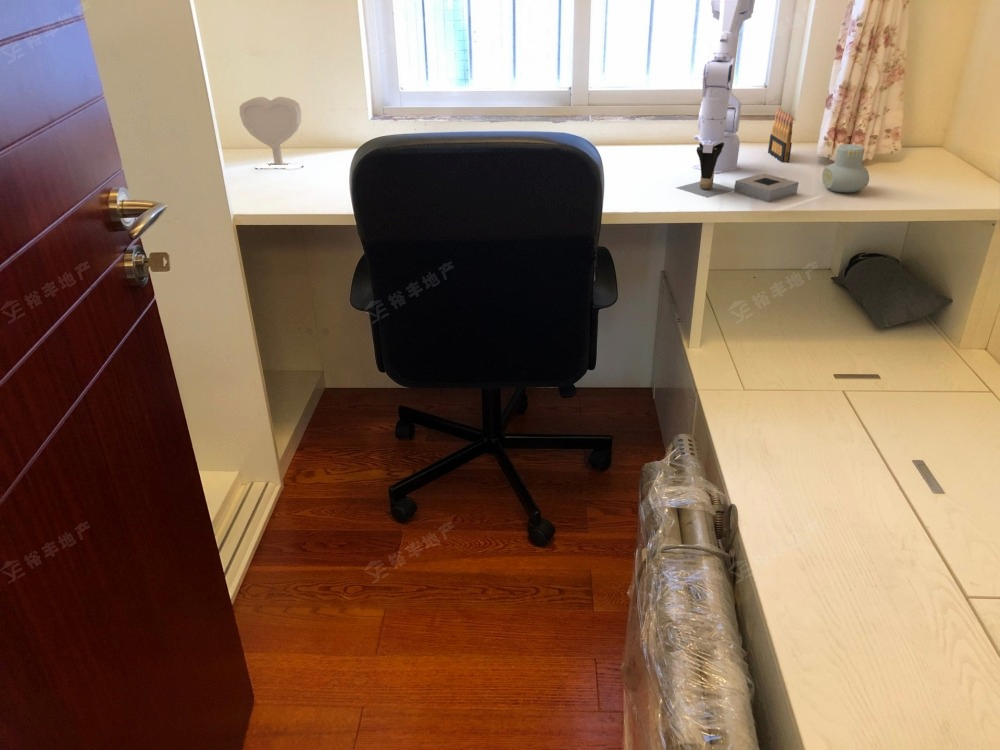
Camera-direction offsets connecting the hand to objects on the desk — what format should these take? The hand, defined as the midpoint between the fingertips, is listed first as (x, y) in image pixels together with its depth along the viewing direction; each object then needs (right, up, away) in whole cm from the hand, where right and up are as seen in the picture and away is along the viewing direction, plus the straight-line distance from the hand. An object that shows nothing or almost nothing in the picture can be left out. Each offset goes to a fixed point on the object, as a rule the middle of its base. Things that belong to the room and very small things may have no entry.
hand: (707, 176), depth 188 cm
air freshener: (+32, -4, 0) cm, 32 cm away
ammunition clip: (+26, +11, +25) cm, 38 cm away
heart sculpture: (-110, +9, +28) cm, 114 cm away
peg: (0, -2, +1) cm, 3 cm away
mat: (0, -3, +2) cm, 3 cm away
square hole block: (+13, -5, -2) cm, 14 cm away
